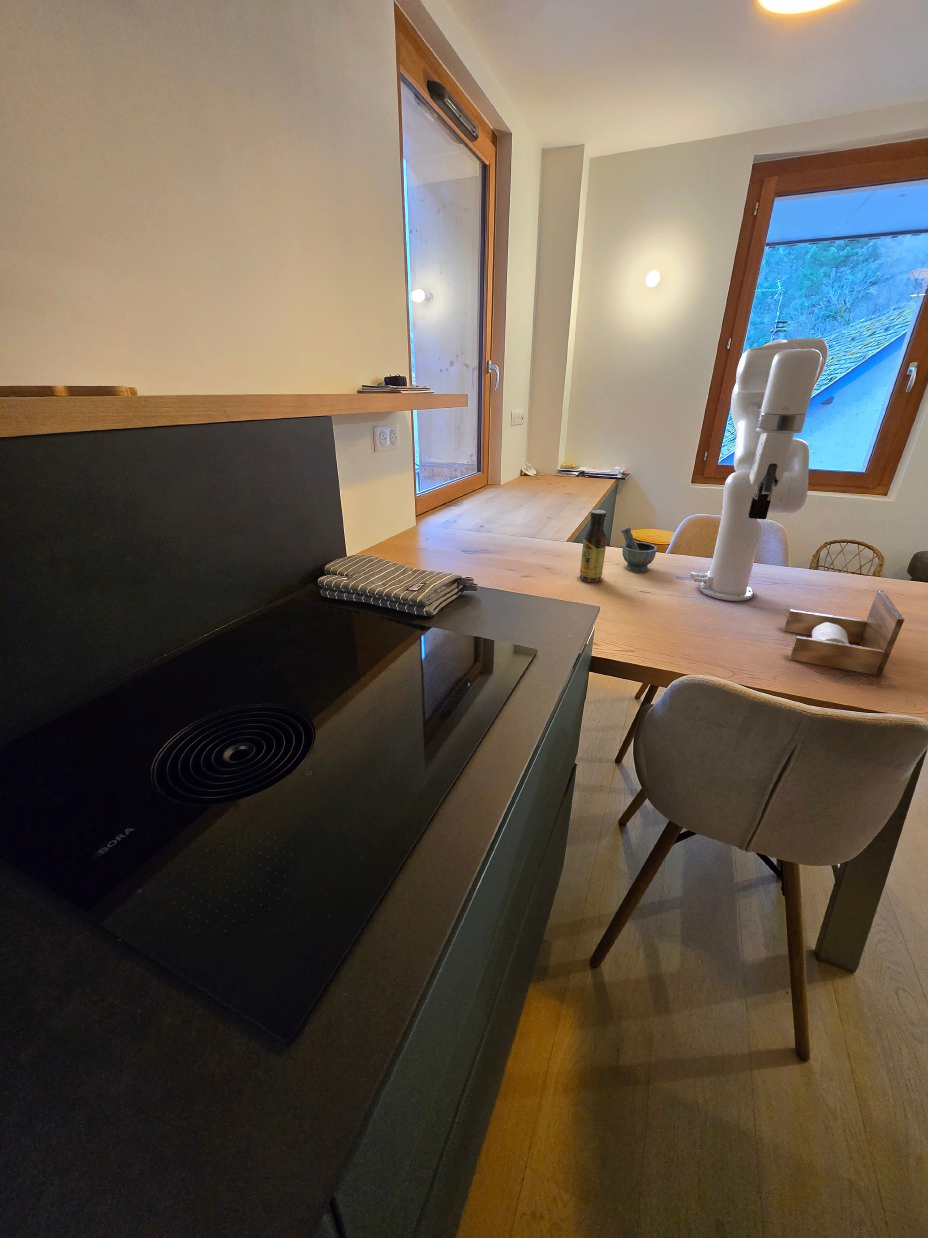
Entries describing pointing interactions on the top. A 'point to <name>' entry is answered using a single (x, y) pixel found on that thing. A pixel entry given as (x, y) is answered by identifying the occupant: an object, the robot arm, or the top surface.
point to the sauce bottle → (594, 548)
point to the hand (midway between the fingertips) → (756, 517)
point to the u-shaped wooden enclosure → (849, 638)
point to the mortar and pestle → (637, 552)
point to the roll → (830, 633)
